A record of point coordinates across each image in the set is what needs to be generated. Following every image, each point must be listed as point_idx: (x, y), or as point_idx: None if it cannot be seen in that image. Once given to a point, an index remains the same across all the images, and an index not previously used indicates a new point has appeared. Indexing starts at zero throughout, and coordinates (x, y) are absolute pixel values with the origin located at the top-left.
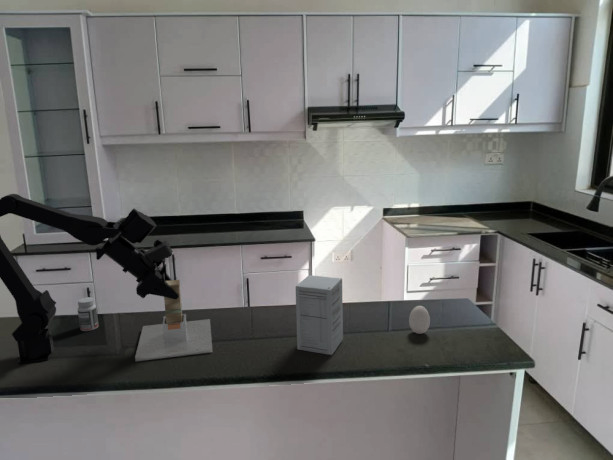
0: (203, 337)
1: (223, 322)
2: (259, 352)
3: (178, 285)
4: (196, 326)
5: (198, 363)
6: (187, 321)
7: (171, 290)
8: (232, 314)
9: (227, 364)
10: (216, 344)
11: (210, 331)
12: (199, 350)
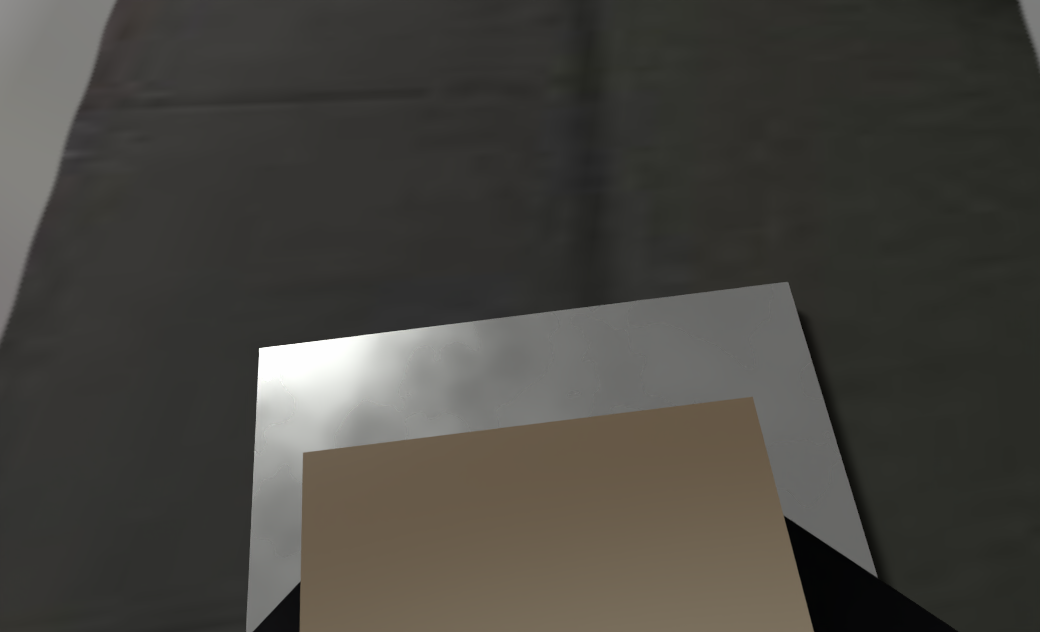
0: (607, 361)
1: (290, 266)
2: (776, 46)
3: (747, 418)
4: (382, 442)
5: (944, 372)
6: (251, 539)
7: (902, 613)
8: (164, 217)
9: (939, 196)
10: (654, 282)
11: (505, 320)
12: (810, 372)
